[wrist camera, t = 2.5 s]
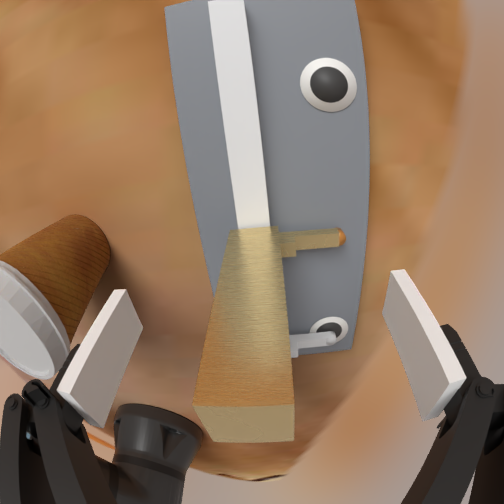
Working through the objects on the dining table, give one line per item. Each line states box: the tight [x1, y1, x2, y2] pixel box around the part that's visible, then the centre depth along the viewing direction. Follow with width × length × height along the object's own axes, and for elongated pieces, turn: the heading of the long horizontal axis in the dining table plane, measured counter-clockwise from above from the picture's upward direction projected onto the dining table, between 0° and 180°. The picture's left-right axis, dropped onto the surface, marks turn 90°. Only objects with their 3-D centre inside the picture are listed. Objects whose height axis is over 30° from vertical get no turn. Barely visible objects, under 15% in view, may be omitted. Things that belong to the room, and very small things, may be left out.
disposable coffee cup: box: [0, 215, 110, 379], centre depth 17 cm, size 10×10×12 cm
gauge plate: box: [165, 0, 370, 358], centre depth 16 cm, size 30×12×10 cm, turn 6°
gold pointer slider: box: [192, 226, 346, 443], centre depth 14 cm, size 3×8×13 cm, turn 96°
